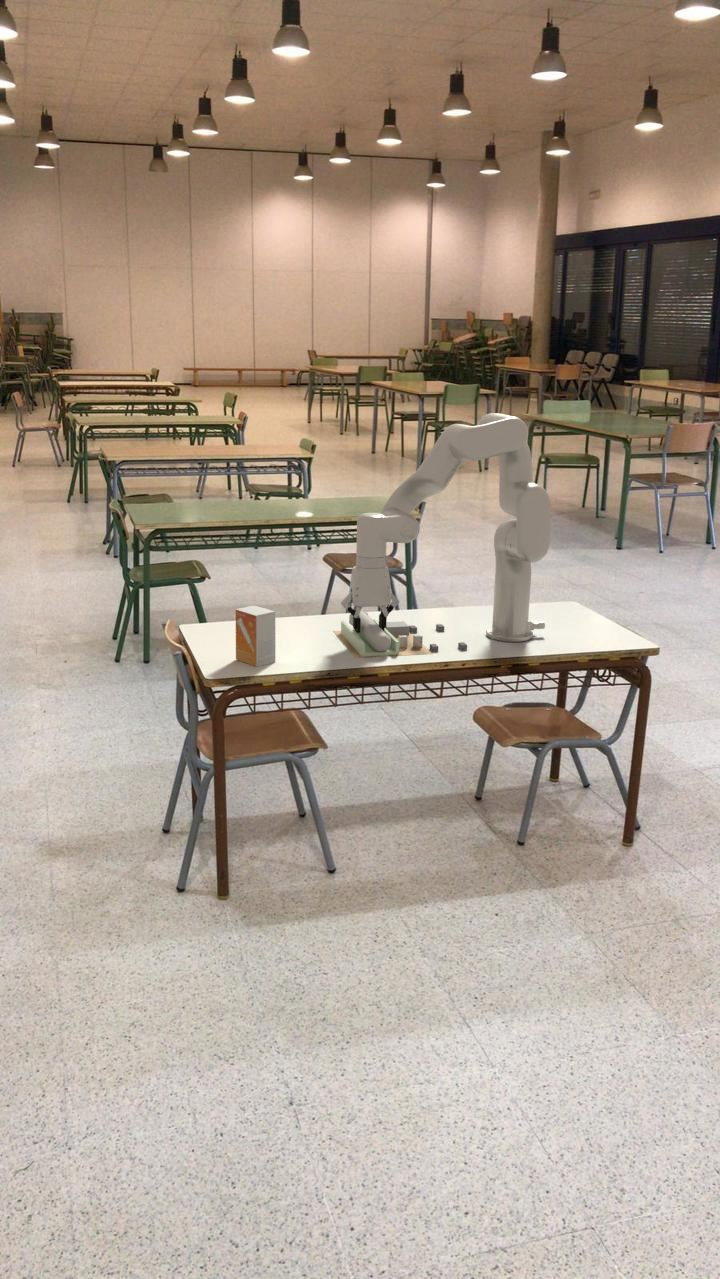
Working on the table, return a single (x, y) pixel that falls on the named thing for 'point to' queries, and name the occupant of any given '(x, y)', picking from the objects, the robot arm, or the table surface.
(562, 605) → the table surface
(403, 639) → the bench dogs
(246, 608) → the small box
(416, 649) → the board
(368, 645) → the tray
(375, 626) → the tube
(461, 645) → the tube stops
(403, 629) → the grey faceted block
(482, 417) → the robot arm
